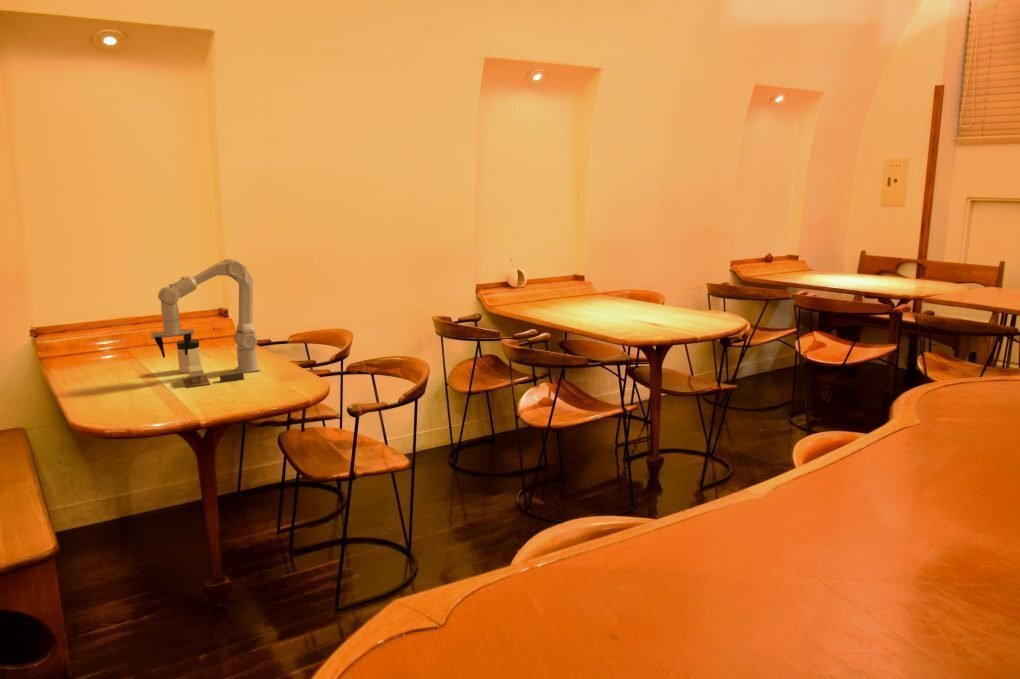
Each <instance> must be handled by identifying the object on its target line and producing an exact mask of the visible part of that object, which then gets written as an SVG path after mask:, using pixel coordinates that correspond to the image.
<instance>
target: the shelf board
mask: <svg viewBox="0 0 1020 679" xmlns="http://www.w3.org/2000/svg"><path fill="white" fill-rule="evenodd" d="M201 366H202V364H201V365H193V366H187V368H188V373H187V374H188V375H189V378H190V377H194V376H195V377H197V376H205V375H204V368H203V367H201Z"/></svg>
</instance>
